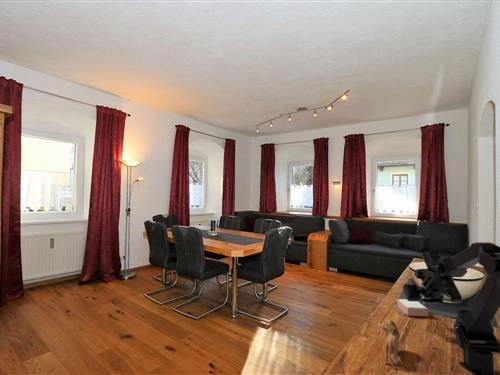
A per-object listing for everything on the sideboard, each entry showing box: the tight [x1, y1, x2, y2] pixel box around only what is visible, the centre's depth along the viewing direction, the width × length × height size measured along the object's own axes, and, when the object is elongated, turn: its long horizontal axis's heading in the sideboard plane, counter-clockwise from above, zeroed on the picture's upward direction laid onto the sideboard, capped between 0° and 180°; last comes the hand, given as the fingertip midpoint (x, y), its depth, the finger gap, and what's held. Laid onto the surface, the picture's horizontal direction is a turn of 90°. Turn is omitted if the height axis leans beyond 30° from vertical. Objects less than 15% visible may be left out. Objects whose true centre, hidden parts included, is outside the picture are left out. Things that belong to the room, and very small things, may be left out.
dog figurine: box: [380, 319, 401, 368], centre depth 88 cm, size 15×5×9 cm, turn 159°
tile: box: [396, 298, 429, 317], centre depth 120 cm, size 3×8×10 cm
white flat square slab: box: [393, 304, 429, 317], centre depth 122 cm, size 10×10×1 cm
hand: (423, 303), depth 110 cm, fingers closed
